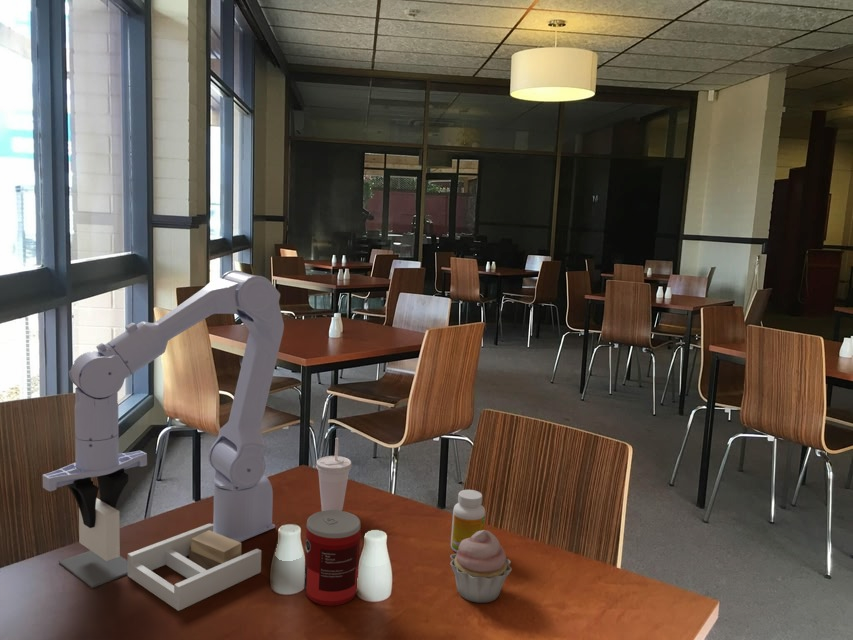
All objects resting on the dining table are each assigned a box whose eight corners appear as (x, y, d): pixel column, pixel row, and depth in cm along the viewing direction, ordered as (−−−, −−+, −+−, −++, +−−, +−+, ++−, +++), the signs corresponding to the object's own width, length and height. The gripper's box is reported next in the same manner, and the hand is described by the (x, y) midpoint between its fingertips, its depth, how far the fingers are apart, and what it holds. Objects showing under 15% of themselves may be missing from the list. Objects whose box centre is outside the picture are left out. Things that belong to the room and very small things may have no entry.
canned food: (326, 572, 105) (329, 504, 103) (368, 589, 101) (372, 519, 99) (292, 594, 98) (294, 522, 97) (335, 613, 94) (339, 539, 93)
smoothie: (356, 510, 127) (359, 438, 125) (334, 522, 122) (337, 447, 119) (329, 501, 130) (332, 431, 128) (307, 512, 125) (309, 439, 123)
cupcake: (455, 612, 96) (460, 546, 95) (441, 577, 106) (445, 516, 104) (518, 608, 98) (524, 543, 97) (499, 574, 107) (504, 514, 106)
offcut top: (208, 541, 108) (208, 530, 107) (241, 555, 104) (241, 542, 104) (191, 550, 105) (191, 538, 104) (224, 564, 101) (224, 552, 101)
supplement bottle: (485, 556, 113) (490, 500, 111) (453, 556, 112) (457, 501, 111) (478, 540, 118) (482, 487, 117) (447, 541, 117) (451, 487, 116)
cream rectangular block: (92, 538, 105) (92, 495, 104) (119, 556, 100) (119, 511, 99) (79, 542, 103) (78, 498, 102) (106, 561, 99) (105, 515, 98)
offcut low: (209, 553, 109) (209, 539, 109) (243, 575, 103) (243, 559, 103) (189, 561, 106) (189, 546, 106) (223, 583, 101) (223, 568, 100)
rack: (209, 543, 111) (209, 523, 111) (260, 572, 104) (261, 550, 103) (127, 576, 100) (127, 553, 100) (178, 611, 93) (178, 587, 92)
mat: (104, 546, 108) (104, 545, 108) (138, 569, 102) (138, 567, 102) (59, 563, 103) (59, 561, 103) (92, 588, 97) (92, 586, 97)
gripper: (129, 418, 107) (130, 500, 109) (31, 438, 96) (34, 529, 98) (154, 429, 103) (154, 513, 105) (55, 451, 92) (57, 546, 94)
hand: (98, 522), depth 101 cm, fingers closed on cream rectangular block, 2 cm apart
